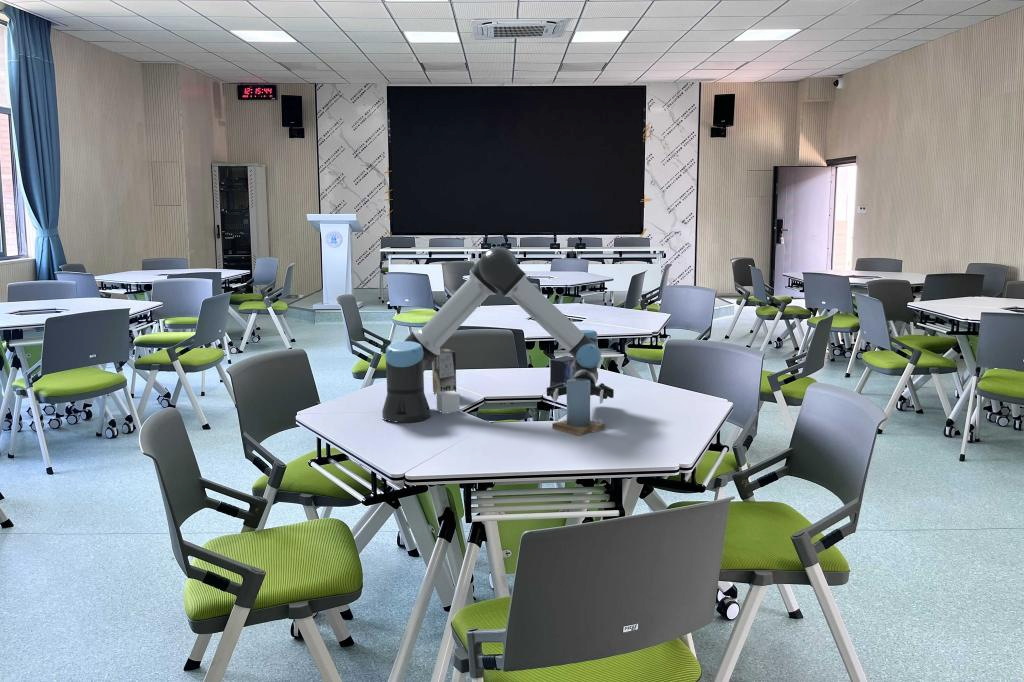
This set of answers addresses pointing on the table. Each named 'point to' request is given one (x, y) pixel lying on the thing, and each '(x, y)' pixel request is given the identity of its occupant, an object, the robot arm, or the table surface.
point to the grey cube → (448, 401)
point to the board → (578, 430)
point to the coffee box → (444, 371)
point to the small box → (561, 370)
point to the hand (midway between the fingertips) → (577, 398)
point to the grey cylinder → (578, 402)
